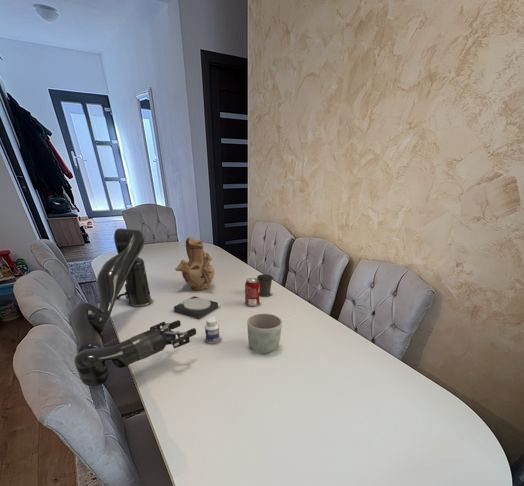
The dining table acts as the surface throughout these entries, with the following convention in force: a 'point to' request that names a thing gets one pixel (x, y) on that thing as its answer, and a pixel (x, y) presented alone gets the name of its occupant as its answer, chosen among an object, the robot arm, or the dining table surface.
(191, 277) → the ceramic vessel
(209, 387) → the dining table surface
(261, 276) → the coffee cup
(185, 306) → the scale
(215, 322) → the pill bottle
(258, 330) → the planter
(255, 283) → the soda can
